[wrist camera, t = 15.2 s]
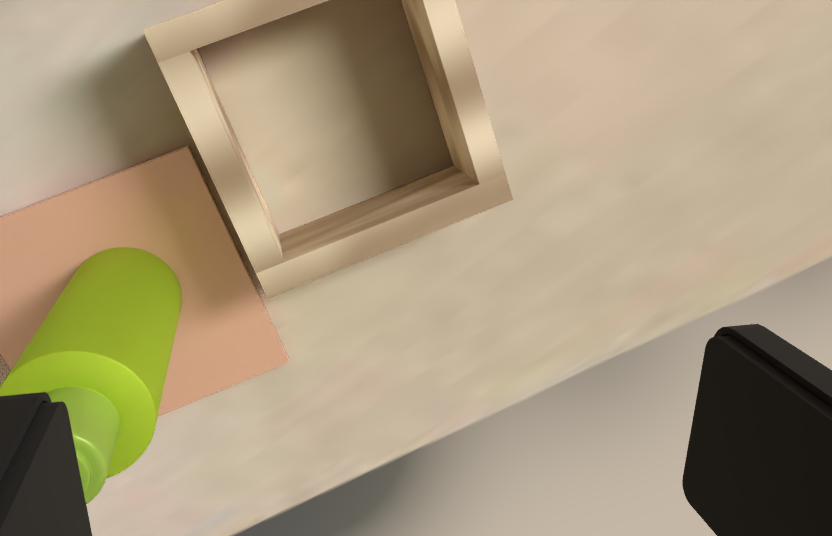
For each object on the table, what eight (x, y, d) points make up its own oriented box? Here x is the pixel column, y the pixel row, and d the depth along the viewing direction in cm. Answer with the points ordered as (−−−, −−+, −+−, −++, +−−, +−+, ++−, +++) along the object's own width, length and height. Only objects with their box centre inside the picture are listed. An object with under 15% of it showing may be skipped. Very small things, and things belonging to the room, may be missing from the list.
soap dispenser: (59, 352, 40) (-100, 641, 21) (78, 236, 38) (-77, 444, 20) (168, 368, 42) (107, 649, 23) (191, 258, 40) (145, 469, 21)
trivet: (-68, 241, 37) (-72, 245, 36) (188, 145, 38) (187, 147, 38) (68, 448, 42) (66, 454, 42) (288, 357, 44) (288, 362, 43)
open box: (155, 27, 36) (142, 29, 31) (409, -65, 37) (433, -76, 33) (264, 266, 41) (267, 298, 37) (483, 179, 43) (512, 199, 38)
